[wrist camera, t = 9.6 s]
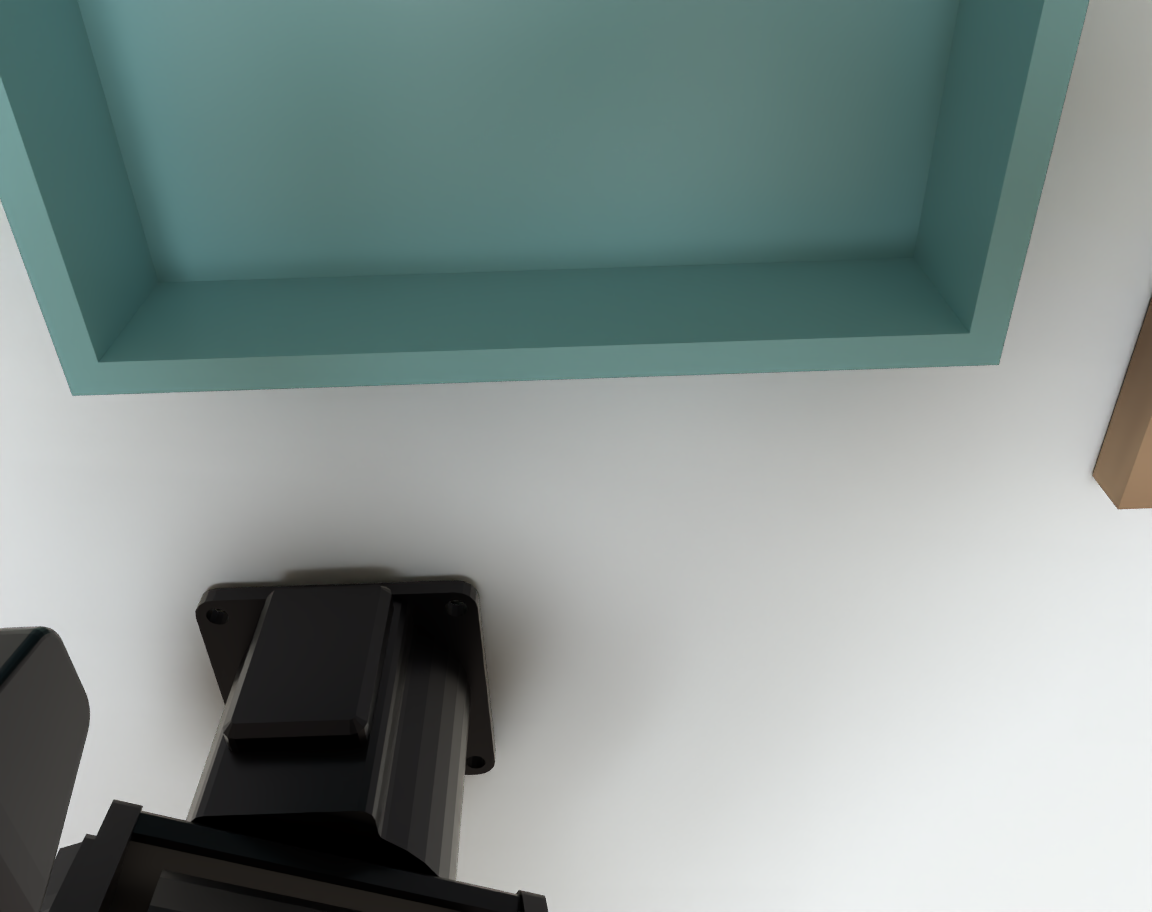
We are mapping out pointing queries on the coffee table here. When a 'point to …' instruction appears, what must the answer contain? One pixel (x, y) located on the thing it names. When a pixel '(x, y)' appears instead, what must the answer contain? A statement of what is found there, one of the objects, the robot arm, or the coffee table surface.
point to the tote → (523, 185)
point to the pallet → (1131, 433)
